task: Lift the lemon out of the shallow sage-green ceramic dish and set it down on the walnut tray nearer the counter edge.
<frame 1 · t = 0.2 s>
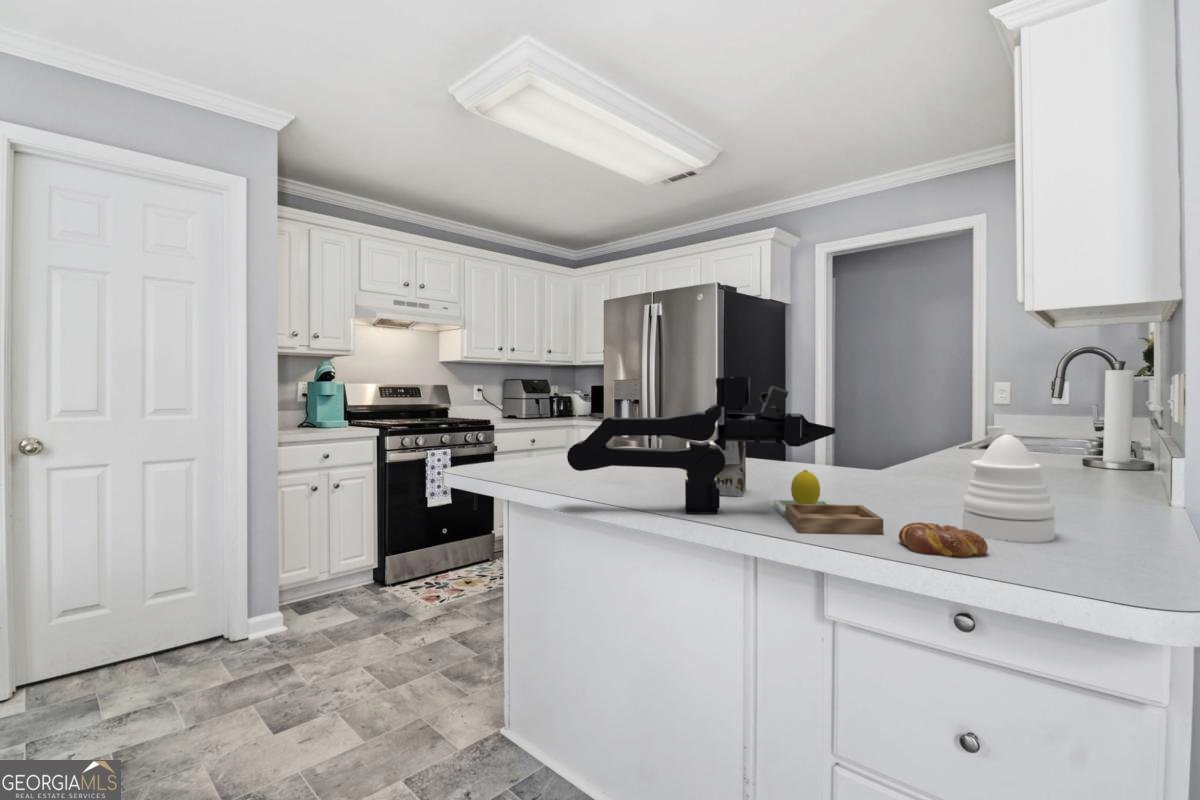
hand: (828, 429, 117), 17 cm above the worktop, tool horizontal, fingers open, 9 cm apart
tray: (831, 525, 107), on the worktop
honey pot: (1007, 533, 100), on the worktop
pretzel: (941, 551, 91), on the worktop
coffee box: (731, 493, 141), on the worktop
dish: (805, 511, 119), on the worktop
lemon: (805, 510, 119), resting on dish
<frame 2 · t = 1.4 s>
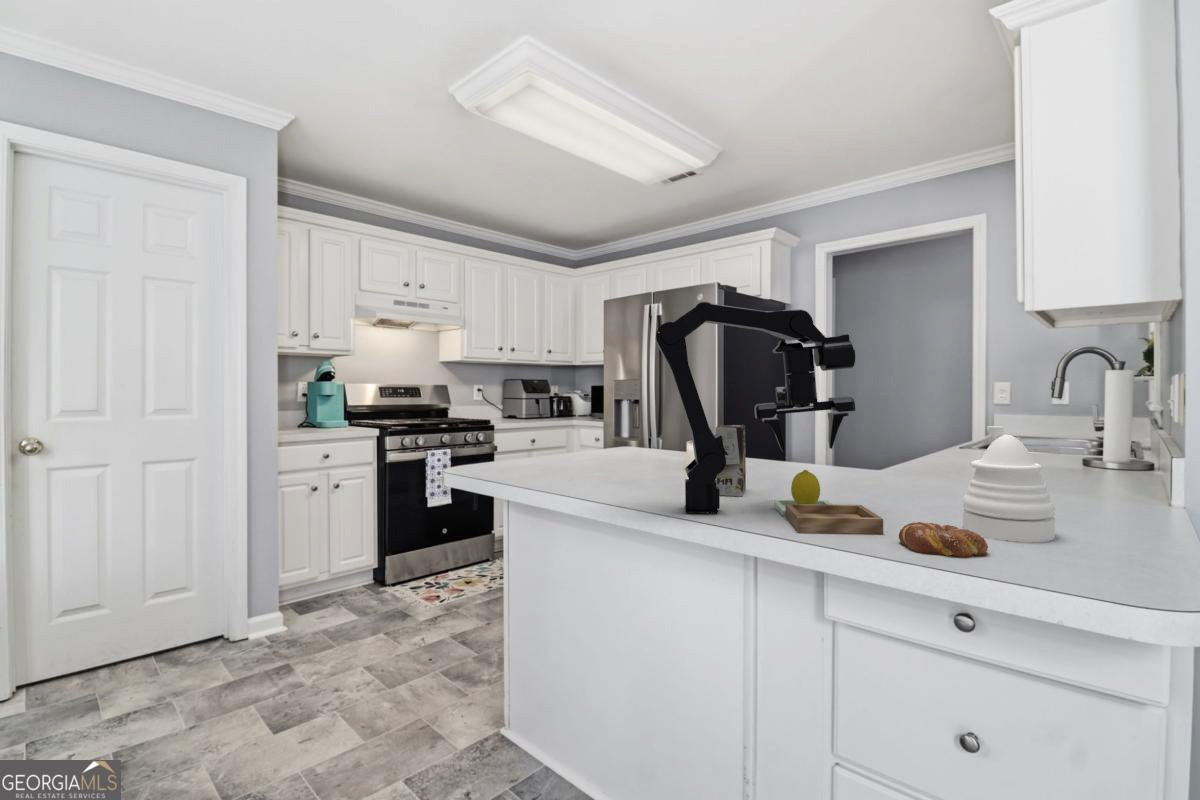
hand: (806, 450, 119), 12 cm above the worktop, tool pointing down, fingers open, 9 cm apart
nothing on the worktop moved.
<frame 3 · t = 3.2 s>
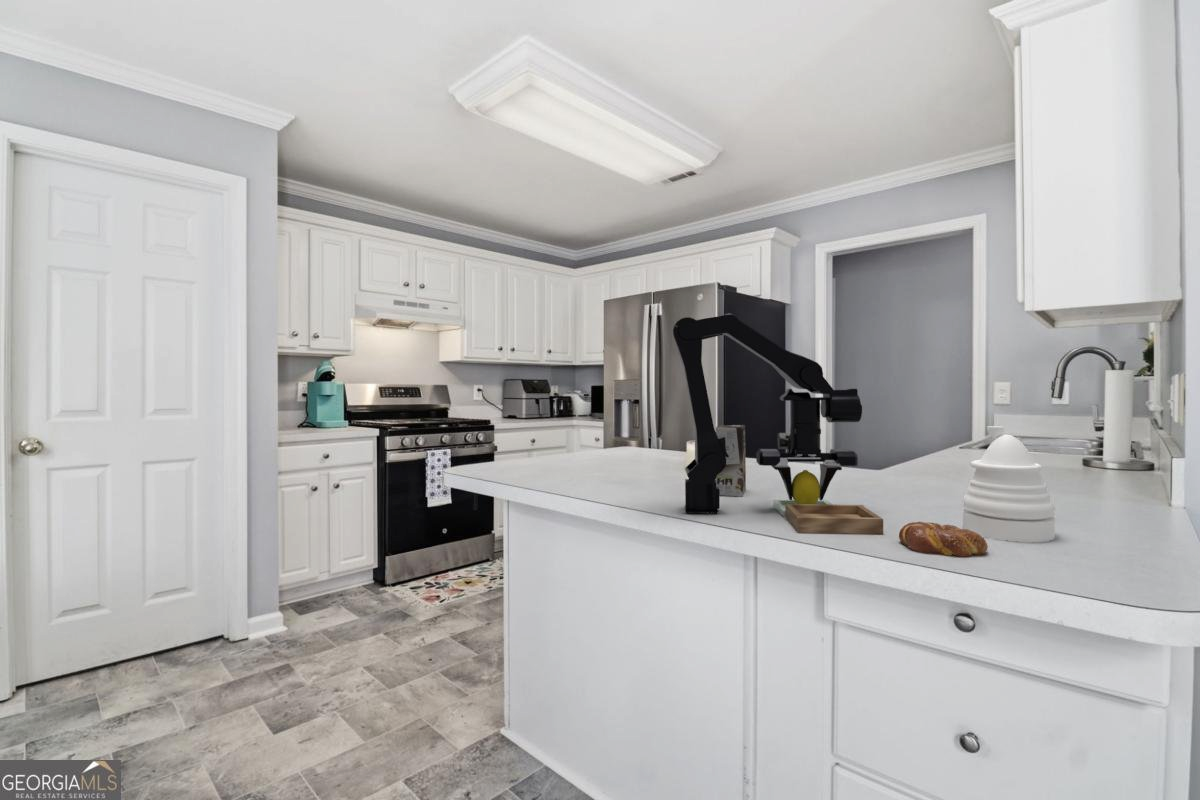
hand: (805, 499, 119), 2 cm above the worktop, tool pointing down, fingers closed on lemon, 5 cm apart
lemon: (805, 510, 119), resting on dish, touching gripper
everything else where it was.
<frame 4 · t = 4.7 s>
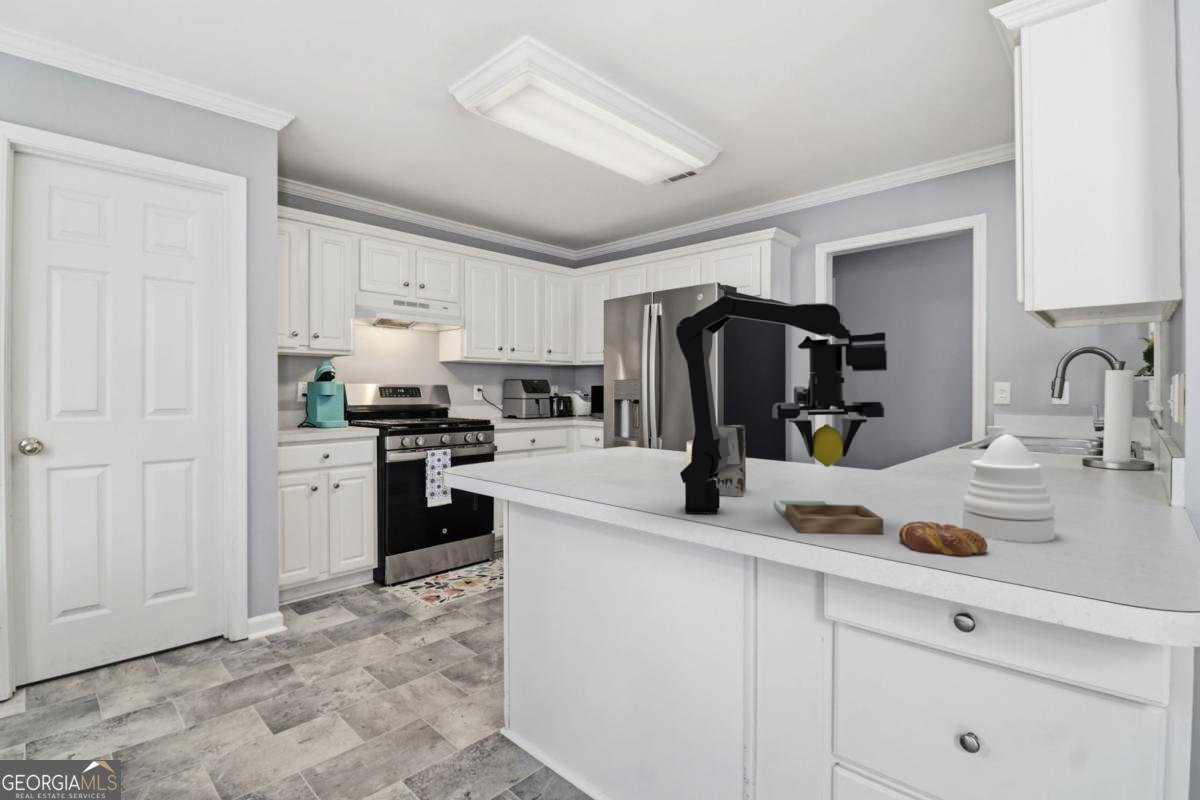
hand: (827, 456, 109), 12 cm above the worktop, tool pointing down, fingers closed on lemon, 5 cm apart
lemon: (827, 468, 109), point 10 cm above the worktop, touching gripper
everything else where it was.
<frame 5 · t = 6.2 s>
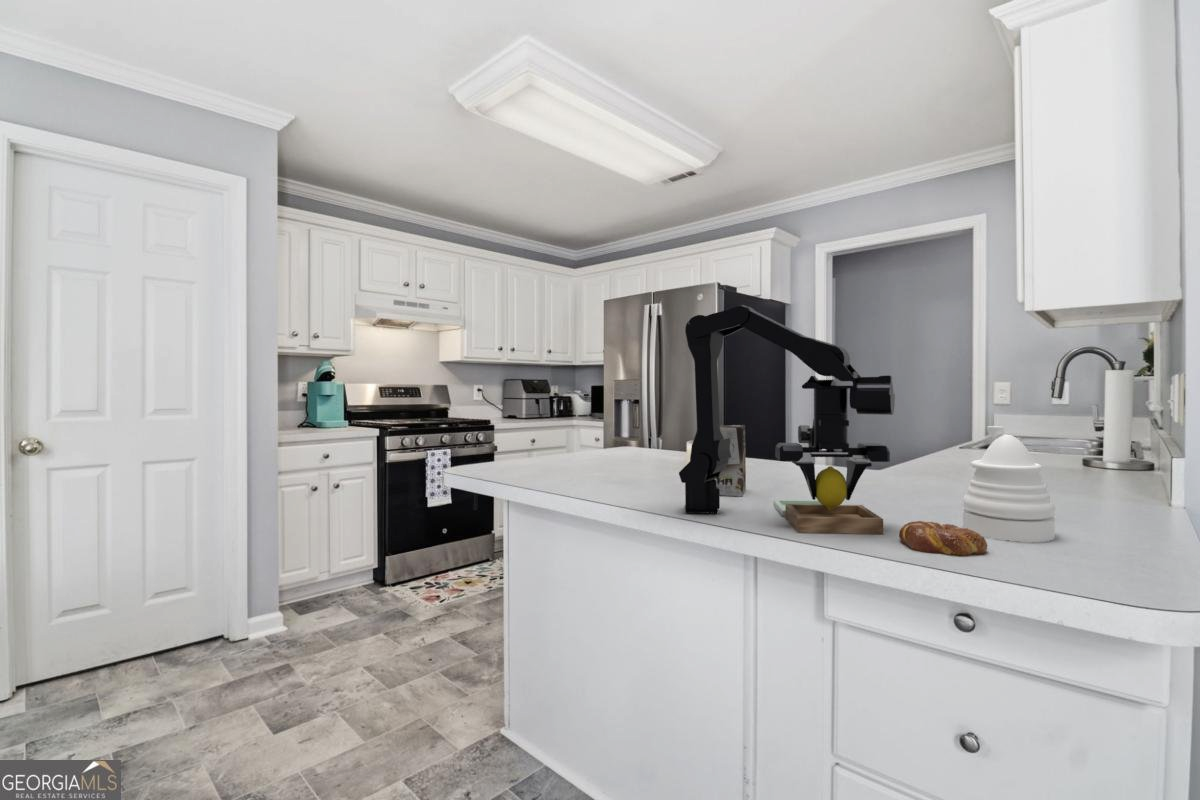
hand: (830, 499, 107), 5 cm above the worktop, tool pointing down, fingers closed on lemon, 5 cm apart
lemon: (830, 511, 107), point 3 cm above the worktop, touching gripper
when the fingers open (4 cm above the worktop, at t = 6.7 s): lemon drops 1 cm, resting on tray.
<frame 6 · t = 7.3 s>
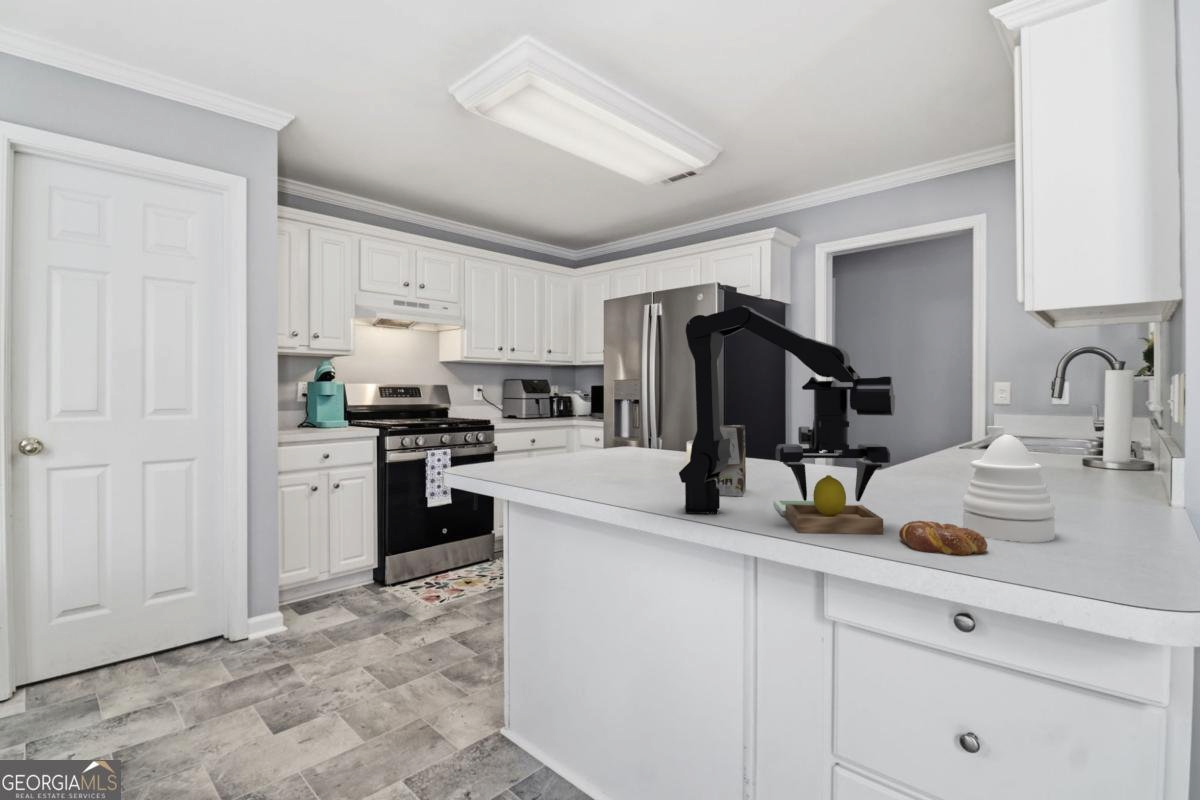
hand: (831, 500, 107), 4 cm above the worktop, tool pointing down, fingers open, 9 cm apart
lemon: (830, 520, 107), point 1 cm above the worktop, touching tray
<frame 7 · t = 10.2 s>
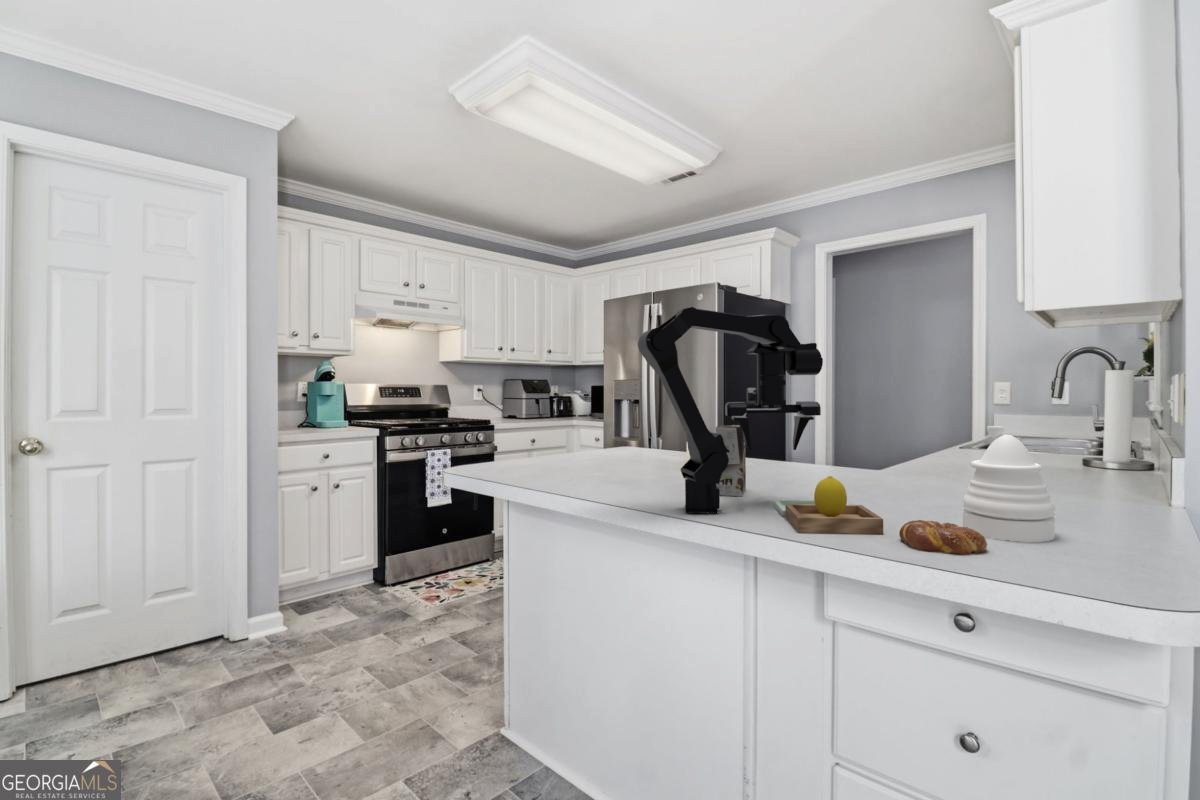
hand: (771, 449, 123), 12 cm above the worktop, tool pointing down, fingers open, 9 cm apart
at the end: lemon 0.1 cm from the tray (horizontally); lemon point 0.8 cm above the worktop; the gripper is holding nothing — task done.
